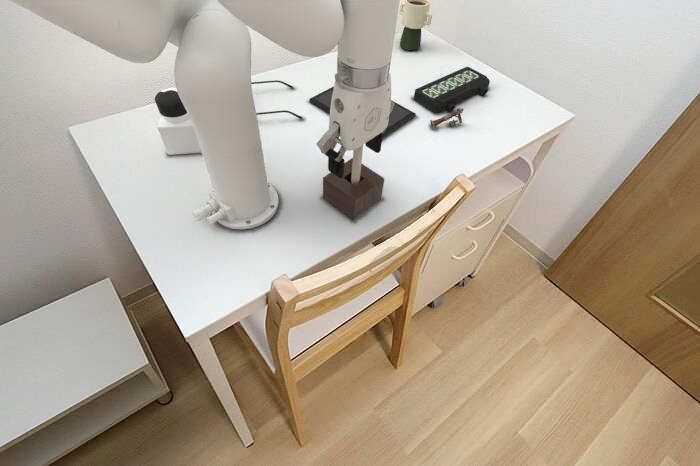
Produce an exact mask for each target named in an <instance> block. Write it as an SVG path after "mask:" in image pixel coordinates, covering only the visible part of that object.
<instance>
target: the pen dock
mask: <svg viewBox="0 0 700 466" xmlns="http://www.w3.org/2000/svg"><path fill="white" fill-rule="evenodd" d="M352 163H353V157H351V158H350V159H348V160H347V161H345V163H344V176H343V177H342V178H339V177H337V176H336V175H334V174H332V173H331V172H329V173H328V174H326V175H324V176H323V177H322V199H324V200H325V201H327V202H328V203H329V204H330V205H332V206H333V207H335V208H336V209H337V210H338V211H339V212H341V213H343V214H344V215H345V216H347V217H348V218H349V219H350V220H352V221H355V220H356V219H357V218H359V217H360V216H361V215H362V214H364V213H365V212H367V211H368V210H369V209H370V208H372V206H374V205H375V204H376V203H378V202H379V201H380V200H382V197H383V196H382V195H383V190H384V184H385V178H384V177H383V176H382V175H380V174H378V173H376V172H375V171H373V170H372V169H371V168H369V167H368V166H366V165H365V164H364V163H363V162H362V163H361V172H360V182H359V183H357V184H356V185H355V186H354V185H353V184H351V176H352Z"/></svg>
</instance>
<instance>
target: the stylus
mask: <svg viewBox="0 0 700 466" xmlns="http://www.w3.org/2000/svg"><path fill="white" fill-rule="evenodd" d="M352 151H353V152H352V158H353V163H352V176H351V184H353V185H354V186H355V185H356V184H357V183H359V182H360V172H361V163H362V164H363V153H364V144H363V145H361V146H360V147H358V148H356V149H354V150H352Z"/></svg>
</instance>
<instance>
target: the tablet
mask: <svg viewBox="0 0 700 466" xmlns="http://www.w3.org/2000/svg"><path fill="white" fill-rule="evenodd" d="M333 89H334V85H333V86H331V87H330V88H328V89H325V90H324V91H322V92H320V93H318V94H316V95H315V96H312V97H311V98H309V99H308V100H309V103H311V104H312V105H314V106H315V107H316V108H318V109H320V110H321V111H323V112H325V113H327V114H328V115H330V107H331V100H332V94H333ZM391 101H392V102H394V103H395V104H394V107H393V109H392V111H391V113H390V114H389V115H390V119H389V121H388V125H387V127H386V130H385V132H384V133H382V134H383V138H382V140H383V139H384V138H386V137H387V136H389V135H390V134H392V133H393V132H395V131H396V130H398V129H399V128H401V127H402V126H404V125H406V124H407V123H408V122H410V121H411V120H413V119H414V118H416V115H417V113H415V112H414V111H412V110H410V109H408V108H406V107H405V106H404V105H403V106H402V105H401V104H399V103H398V102H395V101H394V100H392V99H391Z"/></svg>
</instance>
